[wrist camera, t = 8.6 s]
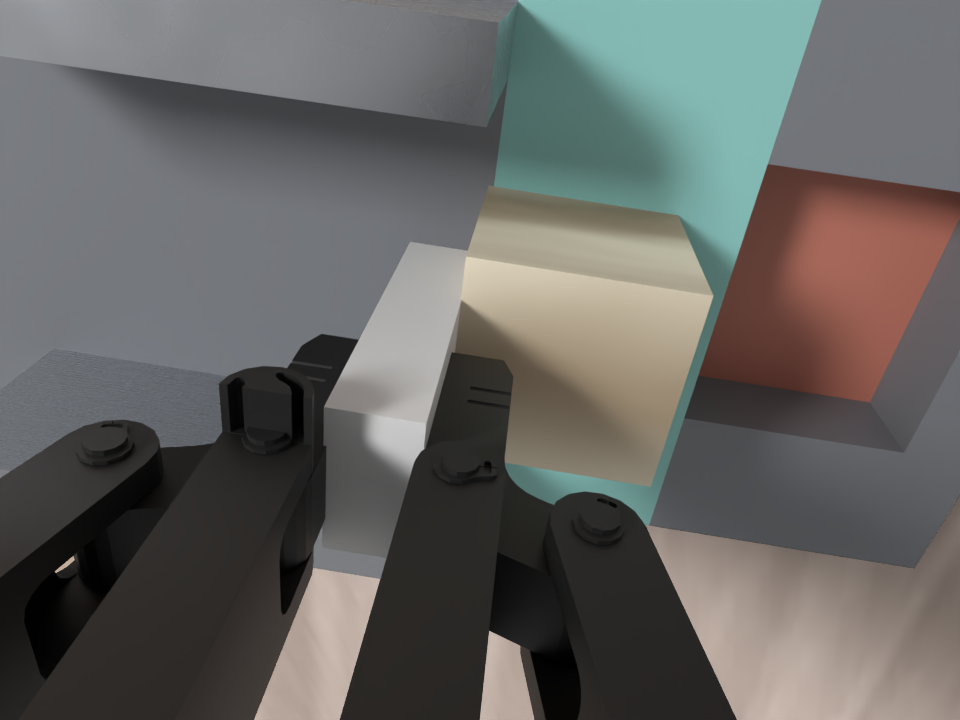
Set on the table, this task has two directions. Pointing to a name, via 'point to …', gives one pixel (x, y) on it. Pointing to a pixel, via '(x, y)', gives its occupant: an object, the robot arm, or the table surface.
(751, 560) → the table surface
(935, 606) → the table surface
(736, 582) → the table surface
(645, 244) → the brass block
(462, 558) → the robot arm
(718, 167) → the tunnel deck
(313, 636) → the table surface
